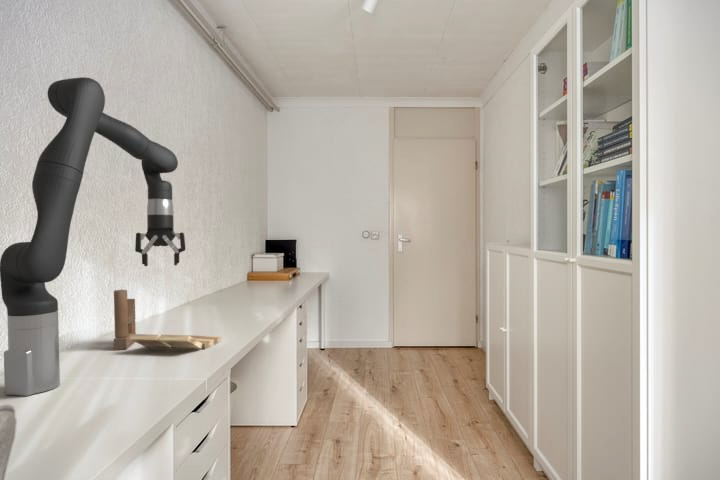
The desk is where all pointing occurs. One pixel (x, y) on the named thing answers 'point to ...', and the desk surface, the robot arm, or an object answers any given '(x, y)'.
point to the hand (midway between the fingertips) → (161, 265)
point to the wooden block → (123, 320)
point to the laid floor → (205, 341)
